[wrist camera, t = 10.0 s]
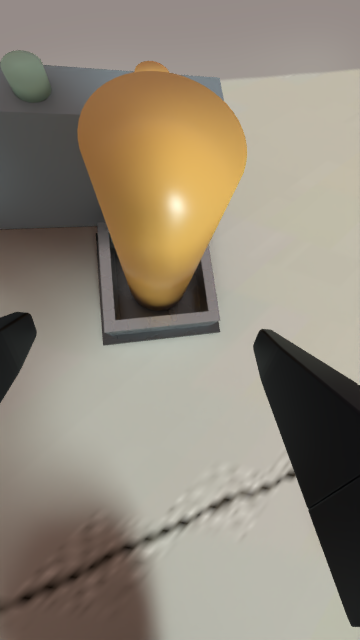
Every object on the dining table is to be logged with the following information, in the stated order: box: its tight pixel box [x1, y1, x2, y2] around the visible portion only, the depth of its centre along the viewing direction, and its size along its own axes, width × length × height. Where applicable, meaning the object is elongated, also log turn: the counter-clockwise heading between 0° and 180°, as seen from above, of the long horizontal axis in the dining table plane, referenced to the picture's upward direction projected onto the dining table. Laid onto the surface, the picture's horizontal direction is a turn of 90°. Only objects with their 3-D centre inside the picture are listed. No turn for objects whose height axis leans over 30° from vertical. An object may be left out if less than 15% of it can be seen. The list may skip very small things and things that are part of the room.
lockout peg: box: [77, 71, 247, 311], centre depth 12 cm, size 5×5×12 cm
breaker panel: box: [0, 50, 224, 229], centre depth 14 cm, size 20×4×10 cm, turn 97°
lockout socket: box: [96, 222, 220, 345], centre depth 17 cm, size 10×10×3 cm
